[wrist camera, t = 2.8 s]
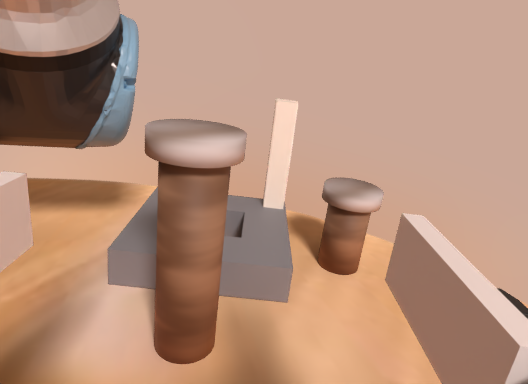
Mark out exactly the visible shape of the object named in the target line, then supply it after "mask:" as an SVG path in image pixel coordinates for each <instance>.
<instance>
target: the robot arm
mask: <svg viewBox="0 0 528 384" xmlns="http://www.w3.org/2000/svg"><path fill="white" fill-rule="evenodd" d="M138 50H139V37H138V28H137V24H136V22H135V21H134V20H132V19H130V18H127V17H126V16H124V15H122V14H120V9H119V3H118V0H0V145H22V146H43V147H66V148H76V149H83V148H85V147H101V146H102V147H106V146H114V145H116V144H118V143H119V142H121V141H122V140H123V139H124V137H125V136H126V134H127V132H128V129H129V125H130V121H131V116H132V111H133V104H134V96H135V85H134V84H135V82H136V75H137V68H138V52H139V51H138ZM32 246H33V235H32V225H31V215H30V204H29V194H28V184H27V174H26V173H18V172H7V171H3V172H0V272H1V271H3V270H4V269H5V268H6V267H7V266H9V265H10V264H11V263H12V262H14V261H15V260H16V259H17V258H18V257H20V256H21V255H22V254H23V253H25V252H26V251H27V250H28V249H29V248H31V247H32ZM385 281H386V283H387V284H388V286H389V288H390V290H391V292H392V293H393V295H394V297H395V299H396V301H397V303H398V304H399V306H400V308H401V310H402V312H403V314H404V315H405V317H406V319H407V321H408V323H409V325H410V326H411V328H412V330H413V332H414V334H415V335H416V337H417V339H418V341H419V343H420V345H421V346H422V348H423V350H424V352H425V354H426V356H427V357H428V359H429V361H430V363H431V365H432V367H433V368H434V370H435V372H436V374H437V376H438V377H439V379H440V381H441V383H442V384H528V308H527V307H525V306H524V305H523V304H522V303H521V302H520V301H519V300H518V299H516V298H514V297H513V296H511V295H510V294H508V293H506V292H505V291H503V290H502V289H498V288H496V287H495V286H494V285H493V284H492V283H491V282H490V281H489V280H488V279H487V278H486V277H484V276H483V275H482V274H481V272H480V271H478V269H477V268H476V267H474V266H473V264H471V263H470V262H469V261H468V260H467V259H466V258H465V257H464V256H463V255H462V254H461V253H460V252H459V251H458V250H457V249H456V248H455V247H454V246H453V245H452V244H451V243H450V242H449V241H448V240H447V239H446V238H445V237H444V236H443V235H442V234H441V233H440V232H439V231H438V230H437V229H436V228H435V227H434V226H433V225H432V224H431V223H430V222H429V221H428V220H427V219H426V218H425V217H424V216H423V215H414V214H404V213H402V215H401V219H400V224H399V227H398V231H397V235H396V239H395V243H394V247H393V251H392V255H391V259H390V262H389V266H388V270H387V274H386V278H385Z"/></svg>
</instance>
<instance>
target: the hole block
mask: <svg viewBox="0 0 528 384" xmlns="http://www.w3.org/2000/svg"><path fill="white" fill-rule="evenodd" d="M297 111H298V102H297V101H293V100H284V99H276V104H275V111H274V119H273V127H272V135H271V143H270V151H269V159H268V167H267V175H266V182H265V190H264V198H263V199H259V198H250V197H241V196H232V195H228V201H227V212H226V223H225V234H224V244H223V255H222V266H221V277H220V288H219V295H220V296H230V297H240V298H250V299H259V300H269V301H279V302H288V296H289V290H290V284H291V278H292V272H293V265H292V257H291V249H290V241H289V233H288V225H287V217H286V209H285V202H284V200H285V192H286V186H287V179H288V172H289V166H290V159H291V152H292V145H293V138H294V131H295V124H296V118H297ZM157 208H158V187H157V188H156V190H155V191H154V192H153V193H152V195H151V196H150V197H149V198H148V200H147V201H146V202H145V203H144V205H143V206H142V207H141V208H140V210H139V211H138V212H137V213H136V215H135V216H134V217H133V218H132V220H131V221H130V222H129V223H128V224H127V226H126V227H125V228H124V229H123V231H122V232H121V233H120V234H119V236H118V237H117V238H116V239H115V241H114V242H113V243H112V244H111V246H110V247H109V248H108V284H112V285H122V286H132V287H142V288H152V289H156V250H157Z"/></svg>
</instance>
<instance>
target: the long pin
mask: <svg viewBox="0 0 528 384" xmlns="http://www.w3.org/2000/svg"><path fill="white" fill-rule="evenodd" d="M246 137H247V133H246V132H245V131H243V130H242V129H239V128H237V127H234V126H230V125H226V124H222V123H217V122H210V121H202V120H190V119H166V120H157V121H152V122H149V123H147V124H146V125H145V153H146V155H147V156H149V157H150V158H152V159H154V160H157V161H159V168H158V208H157V250H156V291H155V333H154V347H155V350H156V352H157V353H158V355H159V356H160V357H161V358H163V359H164V360H166V361H169V362H172V363H176V364H189V363H194V362H197V361H199V360H201V359H203V358H205V357H206V356H207V355H208V354H209V353H210V352H211V351H212V349H213V347H214V342H215V332H216V321H217V310H218V299H219V288H220V277H221V266H222V255H223V244H224V234H225V223H226V212H227V201H228V189H229V178H230V168H231V166H233V165H237V164H239V163H241V162H243V160H244V157H245V147H246Z"/></svg>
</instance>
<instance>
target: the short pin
mask: <svg viewBox="0 0 528 384" xmlns="http://www.w3.org/2000/svg"><path fill="white" fill-rule="evenodd" d="M383 195H384V192H383V190H381V189H380V188H379V187H377V186H375V185H373V184H371V183H368V182H365V181H361V180H356V179H350V178H330V179H327V180H326V181H325V183H324V188H323V193H322V198H323V199H324V200H325V201H326V202H327V203H328V208H327V214H326V219H325V224H324V229H323V235H322V240H321V245H320V250H319V256H318V263H319V265H320V266H321V267H322V268H324V269H325V270H327V271H329V272H332V273H335V274H341V275H349V274H353V273H355V272H356V271H357V269H358V265H359V261H360V257H361V252H362V248H363V244H364V240H365V235H366V231H367V227H368V223H369V218H370V214H371V212H375V211H377V210H379V209H380V207H381V203H382V199H383Z"/></svg>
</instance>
